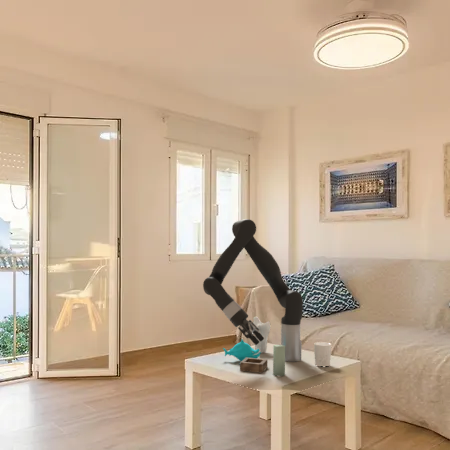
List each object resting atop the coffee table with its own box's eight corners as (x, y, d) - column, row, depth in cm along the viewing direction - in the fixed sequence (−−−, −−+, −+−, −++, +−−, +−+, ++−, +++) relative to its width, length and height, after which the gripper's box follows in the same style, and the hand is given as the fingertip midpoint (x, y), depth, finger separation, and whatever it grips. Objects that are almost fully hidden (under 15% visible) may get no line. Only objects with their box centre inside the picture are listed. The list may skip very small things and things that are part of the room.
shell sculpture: (271, 353, 244) (271, 318, 245) (255, 354, 242) (256, 318, 243) (266, 350, 252) (266, 315, 253) (251, 350, 250) (251, 316, 251)
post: (271, 375, 203) (272, 346, 203) (274, 372, 207) (274, 344, 208) (283, 376, 201) (283, 347, 202) (285, 373, 206) (286, 345, 206)
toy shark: (260, 364, 221) (261, 341, 222) (222, 363, 222) (222, 340, 222) (260, 359, 231) (260, 337, 231) (222, 358, 232) (223, 336, 232)
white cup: (331, 364, 224) (331, 342, 224) (331, 368, 216) (331, 345, 217) (314, 362, 226) (314, 341, 226) (313, 366, 218) (313, 344, 219)
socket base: (240, 370, 210) (240, 362, 210) (246, 365, 219) (246, 357, 219) (262, 372, 207) (262, 364, 207) (267, 367, 216) (267, 359, 216)
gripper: (236, 309, 204) (262, 339, 200) (245, 306, 217) (269, 333, 213) (224, 321, 205) (250, 350, 201) (234, 317, 219) (258, 344, 215)
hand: (260, 341), depth 207 cm, fingers open, 8 cm apart
